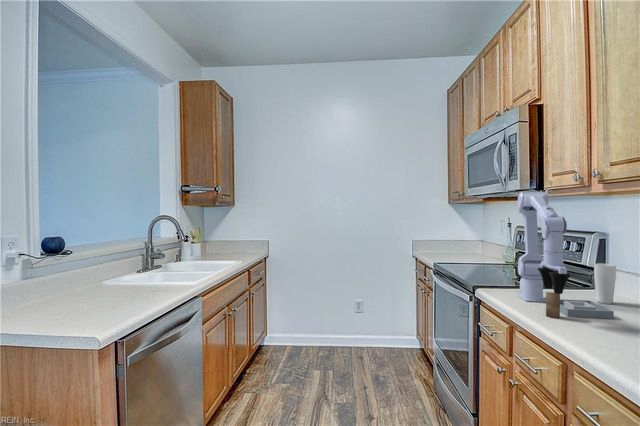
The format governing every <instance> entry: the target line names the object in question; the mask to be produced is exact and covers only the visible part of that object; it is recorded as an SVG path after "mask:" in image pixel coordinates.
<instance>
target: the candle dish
mask: <svg viewBox="0 0 640 426" xmlns="http://www.w3.org/2000/svg"><path fill="white" fill-rule="evenodd" d="M560 314H562V315H564V316H566V317H570V318H589V319H592V318H593V319H612V320H613V319H615V318H614V314H615V311H613V310H611V309H609V308H607V307H605V306H604V305H600V303H598V302H597V303H596V302H594V301H593V300H590V299H589V300H587V299H586V300H585V299H566V298H565V299H561V298H560Z"/></svg>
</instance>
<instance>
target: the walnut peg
mask: <svg viewBox="0 0 640 426" xmlns="http://www.w3.org/2000/svg"><path fill="white" fill-rule="evenodd" d="M560 299H561V294H555V293H554V291H553V292H552V291H551V292H550V291H548V292H546V293H545V300H546V302H545V316H546V317H547V318H549V317H550V319H556V318H557V319H560V318H561V312H560Z"/></svg>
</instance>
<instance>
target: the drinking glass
mask: <svg viewBox="0 0 640 426" xmlns="http://www.w3.org/2000/svg"><path fill="white" fill-rule="evenodd" d="M593 276H594V277H593V278H594V287H595V288H594V289H595V300H596V302H597V303H598V304H604V305H612V304H614V297H615V296H614V295H615V289H616V279H617V266H616V265H615V264H611V263H609V264H608V263H594V265H593Z"/></svg>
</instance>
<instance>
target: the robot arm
mask: <svg viewBox="0 0 640 426" xmlns="http://www.w3.org/2000/svg"><path fill="white" fill-rule="evenodd" d="M517 196H518V197H517V210H518V213H519V214H521V215H522V216H523V225H524V229H523V230H524V246H525V253H524V254H523V255H521V256H519V258H518V261H517V262H518V263H517V273H518V275H519V276H520V277H521V278H520V280H519V293H518V294H517V296H518V297H519V298H521V299H522V300H523V301H525V302H533V303H534V302H535V303H536V302H537V303H539V302H540V303H546V298H543V297H544V294H543V293H544V289H553V293H555V294H560V295H562V294H563V292H564V289H565V286H566V284H567V281H568V280H569V278H570V277H571V274H570V273H567V272H568V271H567V267H566V266H565V265H564V234H566V232H567V227H568V225H567V224H568V223H567V220H566V218H565V216H559V215H558V214H557V212H556V211H555V209H554V208H553V207H552V206H551V205H549V199H550V198H549V195H548V192H547V191H543V192H541V191H539V192H538V191H537V192H533V191H531V192H527V191H526V192H525V191H521V192H519V193H518V195H517ZM538 221H539V223H540V230H541V237H542V238H543V255H542V254H541V253H540V252H539V251H540V248H539V247H540V246H539V230H538Z"/></svg>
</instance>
